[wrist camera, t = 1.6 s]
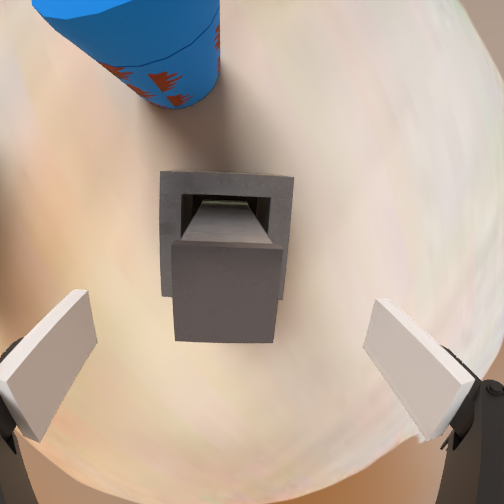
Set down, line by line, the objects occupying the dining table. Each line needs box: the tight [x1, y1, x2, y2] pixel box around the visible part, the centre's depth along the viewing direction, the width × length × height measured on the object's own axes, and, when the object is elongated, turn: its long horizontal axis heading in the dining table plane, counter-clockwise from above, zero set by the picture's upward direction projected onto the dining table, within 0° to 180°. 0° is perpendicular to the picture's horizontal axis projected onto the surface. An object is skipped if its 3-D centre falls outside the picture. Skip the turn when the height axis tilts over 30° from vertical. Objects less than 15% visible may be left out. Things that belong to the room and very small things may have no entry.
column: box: [171, 199, 283, 343], centre depth 25 cm, size 5×6×22 cm
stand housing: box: [159, 170, 294, 300], centre depth 31 cm, size 12×12×11 cm
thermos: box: [32, 0, 220, 109], centre depth 18 cm, size 11×11×25 cm
